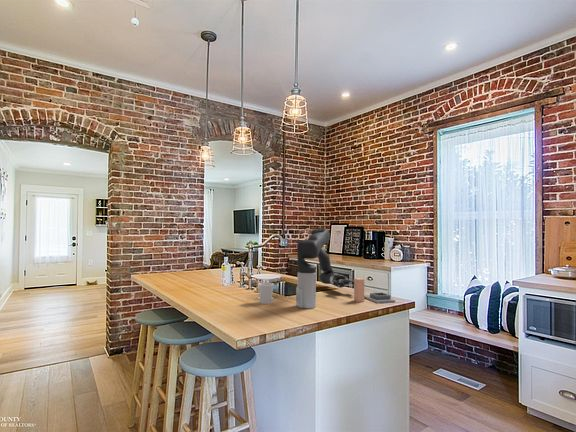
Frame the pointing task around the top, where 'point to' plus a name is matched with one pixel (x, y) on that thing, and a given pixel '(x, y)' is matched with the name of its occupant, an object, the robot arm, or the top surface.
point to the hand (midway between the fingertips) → (350, 284)
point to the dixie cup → (265, 292)
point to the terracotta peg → (358, 289)
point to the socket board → (379, 298)
